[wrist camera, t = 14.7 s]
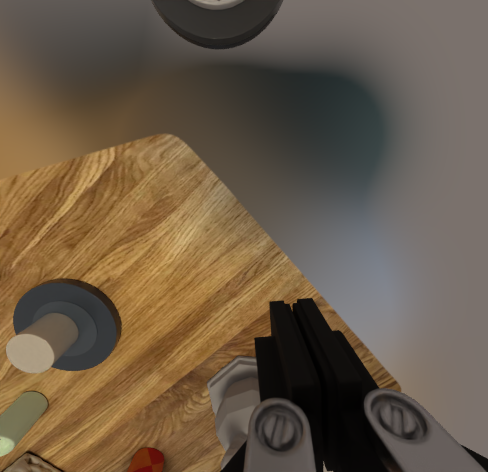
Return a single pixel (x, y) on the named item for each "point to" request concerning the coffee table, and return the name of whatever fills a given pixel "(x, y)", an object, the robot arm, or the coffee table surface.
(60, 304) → the plate
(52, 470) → the basket
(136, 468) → the coffee cup
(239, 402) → the grey faceted model
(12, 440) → the candle
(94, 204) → the coffee table surface
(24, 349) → the short beige cylinder
